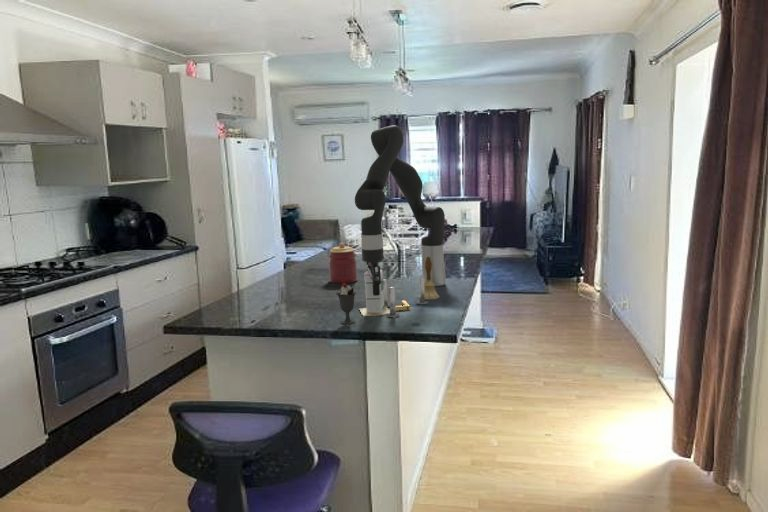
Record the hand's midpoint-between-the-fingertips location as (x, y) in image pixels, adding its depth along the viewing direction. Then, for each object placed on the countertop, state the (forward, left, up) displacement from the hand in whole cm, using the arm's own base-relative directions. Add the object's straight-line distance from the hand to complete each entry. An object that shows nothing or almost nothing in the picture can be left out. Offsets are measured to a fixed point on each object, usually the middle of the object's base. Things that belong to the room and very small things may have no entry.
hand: (374, 292), depth 200 cm
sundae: (+11, +10, -7) cm, 17 cm away
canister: (+4, -60, -7) cm, 61 cm away
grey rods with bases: (-12, 0, -7) cm, 14 cm away
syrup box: (0, 0, -7) cm, 7 cm away
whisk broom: (-24, -16, -7) cm, 30 cm away
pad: (0, 0, -7) cm, 7 cm away
